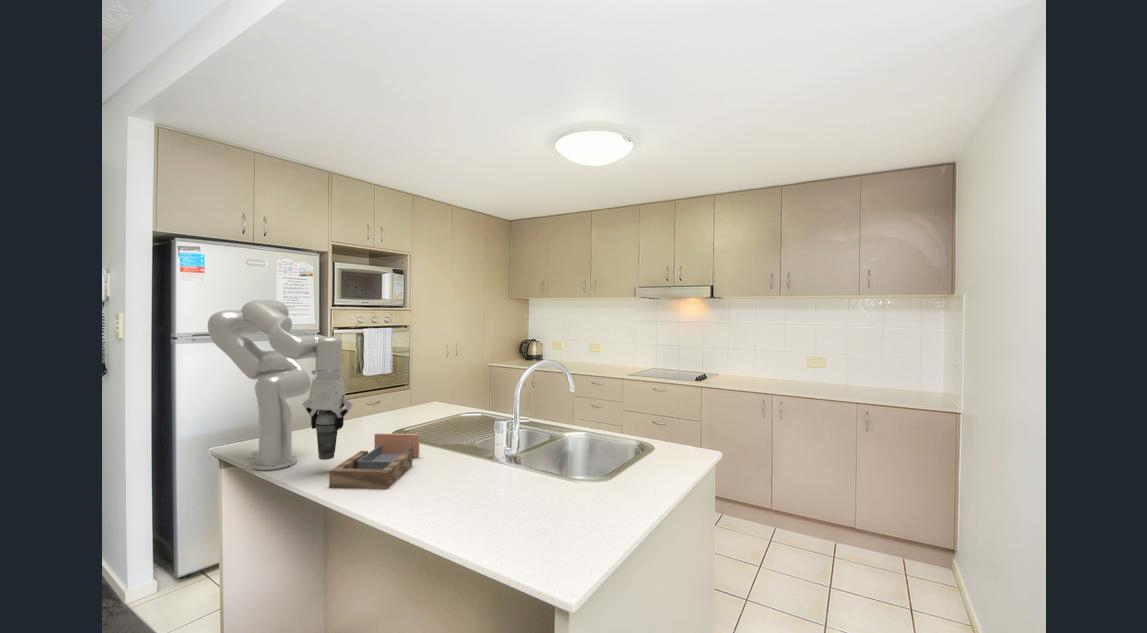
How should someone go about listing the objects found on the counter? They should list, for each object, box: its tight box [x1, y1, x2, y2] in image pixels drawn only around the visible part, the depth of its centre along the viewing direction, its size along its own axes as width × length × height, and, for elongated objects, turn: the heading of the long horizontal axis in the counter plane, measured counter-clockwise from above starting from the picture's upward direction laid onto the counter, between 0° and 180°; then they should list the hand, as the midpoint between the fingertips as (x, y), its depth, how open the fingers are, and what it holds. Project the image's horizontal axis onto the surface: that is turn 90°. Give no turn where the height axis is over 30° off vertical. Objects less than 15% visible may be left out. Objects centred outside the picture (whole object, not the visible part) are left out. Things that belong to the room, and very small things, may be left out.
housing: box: [328, 450, 413, 490], centre depth 153 cm, size 20×18×5 cm
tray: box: [356, 432, 420, 470], centre depth 163 cm, size 19×16×8 cm
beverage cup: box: [315, 410, 338, 461], centre depth 156 cm, size 7×7×20 cm
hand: (327, 427), depth 156 cm, fingers closed on beverage cup, 7 cm apart
